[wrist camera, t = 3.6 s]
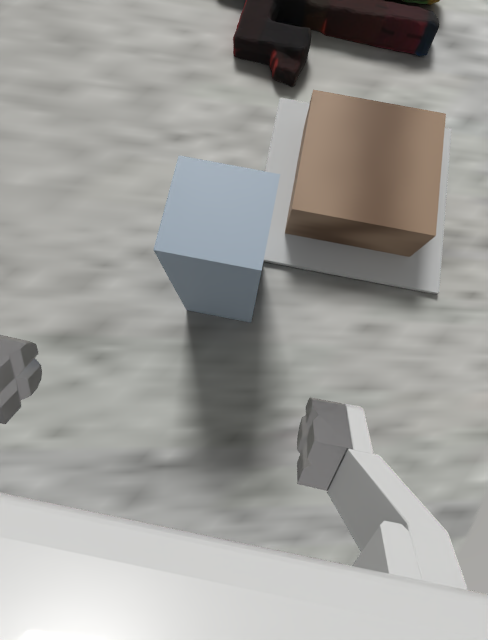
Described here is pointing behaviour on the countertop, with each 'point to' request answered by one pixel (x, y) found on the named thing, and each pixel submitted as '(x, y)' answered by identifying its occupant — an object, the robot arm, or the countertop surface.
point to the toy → (327, 29)
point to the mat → (335, 257)
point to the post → (216, 235)
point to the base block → (367, 174)
